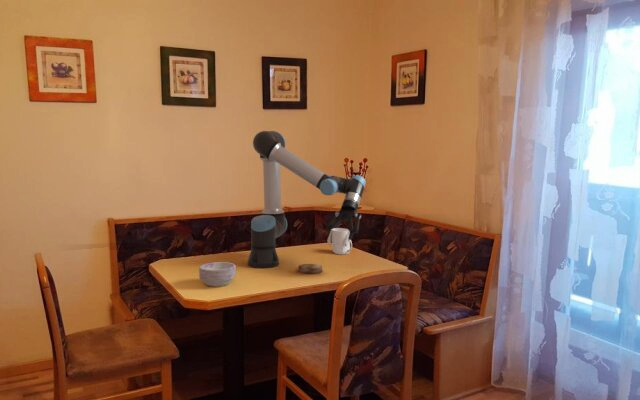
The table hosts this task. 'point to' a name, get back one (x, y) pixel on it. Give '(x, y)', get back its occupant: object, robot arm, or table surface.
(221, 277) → the grey bowl
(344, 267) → the table surface
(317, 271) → the trivet
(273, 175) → the robot arm
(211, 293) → the table surface
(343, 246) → the white cup
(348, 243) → the mug
